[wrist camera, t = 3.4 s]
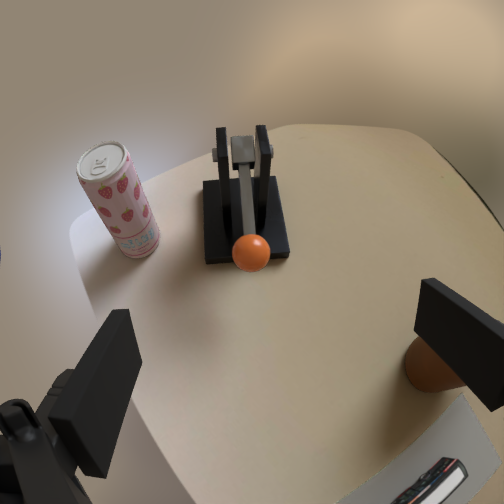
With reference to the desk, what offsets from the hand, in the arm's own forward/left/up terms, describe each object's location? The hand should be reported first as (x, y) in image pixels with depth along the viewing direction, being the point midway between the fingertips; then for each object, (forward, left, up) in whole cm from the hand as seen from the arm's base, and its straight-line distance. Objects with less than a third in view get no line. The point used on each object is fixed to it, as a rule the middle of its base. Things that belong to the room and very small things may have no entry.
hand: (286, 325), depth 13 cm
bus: (+20, -16, -22) cm, 33 cm away
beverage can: (-17, +16, -22) cm, 32 cm away
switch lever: (-3, +16, -13) cm, 21 cm away
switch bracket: (-4, +20, -22) cm, 29 cm away
